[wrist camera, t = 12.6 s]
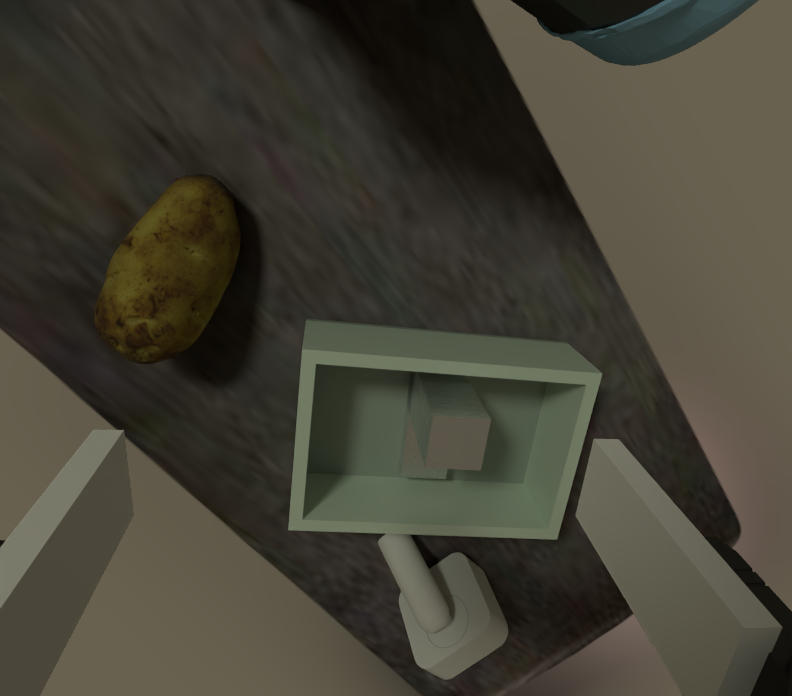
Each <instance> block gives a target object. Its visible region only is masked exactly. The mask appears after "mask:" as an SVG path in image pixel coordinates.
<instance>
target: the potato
mask: <svg viewBox="0 0 792 696" xmlns="http://www.w3.org/2000/svg"><path fill="white" fill-rule="evenodd" d="M175 180H176V182H174V183H173V184H172V185H171V186H170V187H168V188H167V189H166V191H165V192H164V193H163V194H161V196H160V197H159V198H158V199H157V201H156V202H155V203H154V204H153V205H152V206H151V208H150V209H149V210H148V211H147V212H146V213H145V215H144V216H143V217H142V218H141V219H140V221H139V222H138V223H137V224H136V226H135V227H134V228H133V229H132V231H131V232H130V233H129V234H128V236H127V237H126V238H125V240H124V241H121V245H120V246H119V248H118V249H117V250H116V252H115V254H114V255H113V257H112V259H111V261H110V264H109V267H108V269H107V274H106V279H105V283H104V287H103V289H102V291H101V293H100V295H99V298H98V300H97V303H96V308H95V322H94V323H95V326H96V328H97V330H98V333H99V335H100V336H101V337H102V339H103V340H104V341H105V342H106V343H107V344H108V346H110V347H111V348H112V349H113V350H114V351H116V352H117V353H118V354H120V355H121V356H122V357H124V358H126V359H128V360H130V361H132V362H136V363H141V364H153V363H157V362H160V361H163V360H167V359H169V358H173V357H175V356H176V355H177V354H179V353H181V352H182V351H184V350H185V349H187V348H188V347H190V346H191V345H192V344H193V343H194V342H195V341H196V340H197V339H198V337H199V336H200V335H201V333H202V331H203V330H204V328H205V327H206V325H207V324H208V322H209V320H210V319H211V317H212V316H213V314H214V312H215V311H216V309H217V307H218V305H219V302H220V300H221V298H222V296H223V293H224V291H225V289H226V287H227V286H228V284H229V282H230V280H231V277H232V275H233V272H234V269H235V266H236V263H237V259H238V255H239V249H240V239H241V234H240V227H239V223H238V219H237V215H236V211H235V206H234V201H233V198H232V195H231V193H230V192H229V190H228V189H227V188H226V187H225V186H224V185H223V184H222V182H221V181H218V180H217V179H216V178H215V177H213V176H211V175H206V174H197V175H191V176H187V175H186V176H184V177H182V178H177V179H175Z"/></svg>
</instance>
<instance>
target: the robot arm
mask: <svg viewBox="0 0 792 696" xmlns="http://www.w3.org/2000/svg"><path fill="white" fill-rule="evenodd" d="M511 1H513V2H514V3H516V4H517V5H519V6H520V7H521V8H523V9H524V10H526V11H527V12H529V13H530V14H532V15H533V16H534V17H536V18H537V21H538V23H539V24H540V25H541V27H542V28H543V29H544V30H546V31H547V32H548V33H549V34H551V35H553V36H558V37H560V38H561V39H563V40H569V41H572V42H574V43H575V44H577V45H579V46H580V47H582V48H584V49H585V50H587V51H589V52H590V53H592V54H593V55H595V56H597V57H598V58H600V59H602V60H604V61H606V62H609V63H615V64H620V65H633V66H635V65H641V64H647V63H652V62H656V61H659V60H662V59H665V58H668V57H670V56H672V55H675V54H677V53H680V52H682V51H684V50H686V49H688V48H690V47H692V46H693V45H695V44H697V43H699V42H701V41H702V40H704V39H706V38H707V37H709V36H710V35H712V34H714V33H715V32H717V31H718V30H720V29H721V28H723V27H724V26H726V25H727V24H728V23H730V22H731V21H732V20H734V19H735V18H737V17H738V16H739V15H741V14H742V13H743V12H744V11H746V10H747V9H748V8H750V7H751V6H752V5H753V4H755V2H757V1H758V0H511ZM133 515H134V513H133V505H132V497H131V488H130V479H129V470H128V462H127V453H126V445H125V436H124V430H93V431H92V432H91V433H90V435H89V436H88V437H87V438H86V440H85V441H84V442H83V443H82V445H81V446H80V447H79V449H78V450H77V451H76V452H75V454H74V455H73V456H72V457H71V459H70V460H69V461H68V462H67V464H66V465H65V466H64V468H63V469H62V470H61V471H60V473H59V474H58V475H57V476H56V478H55V479H54V480H53V481H52V483H51V484H50V485H49V486H48V488H47V489H46V490H45V491H44V493H43V494H42V495H41V497H40V498H39V499H38V500H37V502H36V503H35V504H34V505H33V507H32V508H31V509H30V510H29V512H28V513H27V514H26V515H25V517H24V518H23V520H22V521H21V522H20V523H19V524H18V526H17V527H16V528H15V529H14V531H13V532H12V533H11V534H10V536H9V537H8V538H7V540H5V541H4V540H3V541H2V540H0V696H40V694H41V692H42V690H43V689H44V687H45V685H46V683H47V681H48V679H49V677H50V675H51V673H52V671H53V669H54V667H55V665H56V664H57V662H58V660H59V658H60V656H61V654H62V652H63V650H64V648H65V646H66V644H67V642H68V640H69V638H70V637H71V635H72V633H73V630H74V629H75V627H76V625H77V623H78V621H79V619H80V617H81V615H82V613H83V612H84V609H85V608H86V606H87V604H88V602H89V600H90V598H91V596H92V594H93V592H94V590H95V588H96V586H97V584H98V583H99V581H100V579H101V577H102V575H103V573H104V571H105V569H106V567H107V565H108V563H109V561H110V559H111V558H112V556H113V554H114V552H115V550H116V548H117V546H118V544H119V542H120V540H121V538H122V537H123V535H124V533H125V531H126V529H127V527H128V525H129V523H130V521H131V518H132V517H133ZM576 517H577V519H578V521H579V522H580V524H581V526H582V528H583V529H584V531H585V533H586V534H587V536H588V538H589V539H590V541H591V543H592V544H593V546H594V548H595V549H596V551H597V553H598V554H599V556H600V558H601V559H602V561H603V563H604V564H605V566H606V568H607V569H608V571H609V573H610V575H611V576H612V578H613V580H614V581H615V583H616V585H617V586H618V588H619V590H620V591H621V593H622V595H623V596H624V598H625V600H626V601H627V603H628V605H629V606H630V608H631V610H632V611H633V613H634V615H635V616H636V618H637V620H638V621H639V623H640V625H641V626H642V628H643V630H644V632H645V633H646V635H647V637H648V638H649V640H650V642H651V643H652V645H653V647H654V648H655V650H656V652H657V653H658V655H659V657H660V658H661V660H662V662H663V663H664V665H665V667H666V668H667V670H668V672H669V674H670V675H671V677H672V678H673V680H674V682H675V683H676V685H677V687H678V689H679V690H680V692H681V693H682V695H683V696H792V611H791V610H790V609H789V608H788V607H787V606H786V605H785V604H784V603H783V602H782V601H781V600H780V598H779V597H778V596H777V595H776V594H775V593H774V592H773V591H772V590H771V589H770V588H769V587H768V586H765V582H764V581H763V580H762V579H761V578H760V577H759V576H758V574H757V573H756V572H753V571H752V568H751V567H750V566H749V565H748V564H747V563H746V561H745V560H744V559H743V558H742V557H741V556H740V555H739V554H738V553H737V552H736V551H735V550H733V549H732V548H730V547H729V546H728V545H726V544H725V543H723V542H722V541H720V540H719V539H717V538H716V537H703V536H702V534H701V533H700V532H699V531H698V530H697V529H696V528H695V526H694V525H693V524H692V523H691V522H690V521H689V520H688V518H687V517H686V516H685V515H684V514H683V513H682V511H681V510H680V509H679V508H678V507H677V506H676V505H675V503H674V502H673V501H672V500H671V499H670V498H669V497H668V495H667V494H666V493H665V492H664V491H663V490H662V489H661V487H660V486H659V485H658V484H657V483H656V482H655V481H654V479H653V478H652V477H651V476H650V475H649V474H648V473H647V471H646V470H645V469H644V468H643V467H642V466H641V465H640V463H639V462H638V461H637V460H636V459H635V458H634V456H633V455H632V454H631V453H630V452H629V451H628V450H627V448H626V447H625V446H624V445H623V444H622V443H621V442H620V440H619V439H594V440H593V444H592V449H591V453H590V457H589V461H588V465H587V470H586V474H585V478H584V482H583V486H582V491H581V495H580V499H579V503H578V507H577V512H576Z"/></svg>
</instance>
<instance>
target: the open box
mask: <svg viewBox="0 0 792 696" xmlns="http://www.w3.org/2000/svg"><path fill="white" fill-rule="evenodd" d="M411 371H414V372H427V373H440V374H453V375H465V376H467V378H468V380H469V381H470V383H471V385H472V387H473V388H474V390H475V392H476V394H477V396H478V397H479V399H480V401H481V403H482V404H483V406H484V408H485V410H486V411H487V413H488V415H489V417H490V418H491V423H490V428H489V433H488V437H487V442H486V447H485V452H484V457H483V462H482V467H481V471H479V470H460V469H447V474H446V479H431V478H411V477H400V474H399V469H398V458H399V451H400V445H401V438H402V431H403V424H404V417H405V411H406V404H407V397H408V390H409V383H410V377H411ZM601 377H602V373H601V372H600V371H599V370H598V369H596V368H595V367H594V366H593V365H592V364H591V363H590V362H588V361H587V360H586V359H585V358H584V357H583V356H582V355H580V354H579V353H578V352H577V351H576V350H575V349H574V348H572V347H571V346H570V345H569V344H568V343H567V342H564V341H553V340H542V339H531V338H520V337H508V336H497V335H486V334H475V333H464V332H452V331H441V330H430V329H419V328H408V327H397V326H385V325H374V324H363V323H352V322H341V321H329V320H318V319H307V318H306V325H305V333H304V340H303V348H302V359H301V372H300V385H299V399H298V412H297V425H296V438H295V451H294V464H293V477H292V490H291V503H290V516H289V529H288V530H300V531H328V532H357V533H385V534H414V535H442V536H470V537H499V538H527V539H555V540H557V538H558V534H559V531H560V527H561V523H562V520H563V516H564V512H565V509H566V505H567V501H568V498H569V494H570V490H571V487H572V483H573V479H574V476H575V472H576V468H577V465H578V461H579V457H580V454H581V450H582V446H583V443H584V439H585V435H586V432H587V428H588V424H589V421H590V417H591V413H592V410H593V406H594V402H595V399H596V395H597V391H598V388H599V384H600V380H601Z"/></svg>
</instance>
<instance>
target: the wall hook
mask: <svg viewBox="0 0 792 696" xmlns="http://www.w3.org/2000/svg"><path fill="white" fill-rule="evenodd" d="M378 545H379V547H380V549H381V551H382V553H383V555H384V557H385V559H386V561H387V563H388V565H389V567H390V569H391V571H392V573H393V575H394V577H395V579H396V581H397V583H398V586H399V588H400V590H401V594H400V597H399V606H400V609H401V613H402V616H403V620H404V623H405V627H406V630H407V634H408V637H409V641H410V644H411V648H412V651H413V655H414V658H415V661H416V663H417V664H418V665H419V666H420V667H421V668H423V669H425V670H427V671H429V672H431V673H432V674H434V675H436V676H438V677H440V678H442V679H446V680H447V679H451V678H453V677H455V676H456V675H458V674H459V673H461V672H462V671H464V670H465V669H467V668H468V667H470V666H471V665H473V664H474V663H476V662H477V661H479V660H481V659H482V658H484V657H485V656H487V655H488V654H490V653H491V652H493V651H494V650H495V649H497V648H498V647H500V646H501V645H502V644H503V643H504V642H505V640H506V638H507V635H508V625H507V622H506V620H505V618H504V615H503V613H502V611H501V609H500V606H499V604H498V602H497V600H496V598H495V595H494V593H493V591H492V589H491V587H490V584H489V582H488V580H487V578H486V576H485V573H484V572H483V570H482V569H481V568H480V567H478V566H477V565H476V564H475V563H474V562H472V561H471V560H470V559H469V558H467V557H466V556H465V555H464V554H462V553H459V552H456V553H452V554H450V555H449V556H447V557H446V558H444V559H443V560H442V561H440V562H439V563H437V564H436V565H434V566H433V567H432V568H430V569H429V568H428V566H427V565H426V563H425V561H424V559H423V557H422V555H421V553H420V551H419V550H418V548H417V546H416V544H415V542H414V540H413V538H412V536H411V535H410V534H385V535H384V536H383V537H382V538H381V539H380V540H379V541H378Z"/></svg>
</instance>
